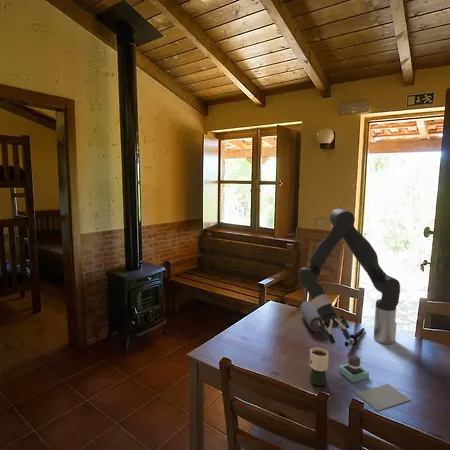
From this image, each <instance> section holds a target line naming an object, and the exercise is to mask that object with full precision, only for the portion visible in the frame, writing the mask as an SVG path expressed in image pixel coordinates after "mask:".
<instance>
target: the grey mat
mask: <svg viewBox="0 0 450 450" xmlns="http://www.w3.org/2000/svg"><path fill="white" fill-rule="evenodd" d="M355 395H357V396H358V397H359V398H360V399H362V400H363V401H364V402H365V403H366V404H367V405H369V406H370V407H371V409H374V410H375V411H376V412H380V411H383V410H386V409H388V408H391V407H395V406H397V405H400V404H404V403H407V402H410V401H411V398H409V397H407V396H406V395H405V394H403V393H402V392H401V391H399V390H397V389H396V388H395V387H393V386H392V385H390V384H389V383H386V384H382V385H380V386H377V387H372V388H368V389H366V390H363V391H359V392H356V393H355Z"/></svg>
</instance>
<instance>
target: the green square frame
mask: <svg viewBox="0 0 450 450" xmlns="http://www.w3.org/2000/svg"><path fill="white" fill-rule="evenodd" d="M338 372H339V373H340V374H341V375H343V376H344V377H345V378H346V379H348V381H350V382H351V383H356V382H359V381H364V380H368V379H369V378H370V372H369V371H368V370H367V369H366V368H364V367H362V366H361V365H360V371H359V373H358V374H355V375H353V374H351V373H350V372H349V371H348V363H346V364H340V365H339V366H338Z"/></svg>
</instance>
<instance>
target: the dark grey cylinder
mask: <svg viewBox="0 0 450 450" xmlns="http://www.w3.org/2000/svg"><path fill="white" fill-rule="evenodd" d="M347 364H348V371H349V372H350V373H351V374H353V375H355V374H358V373H359V371H360V366H361V357H359V356H357V355H355V354H350V355H348V362H347Z"/></svg>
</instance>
